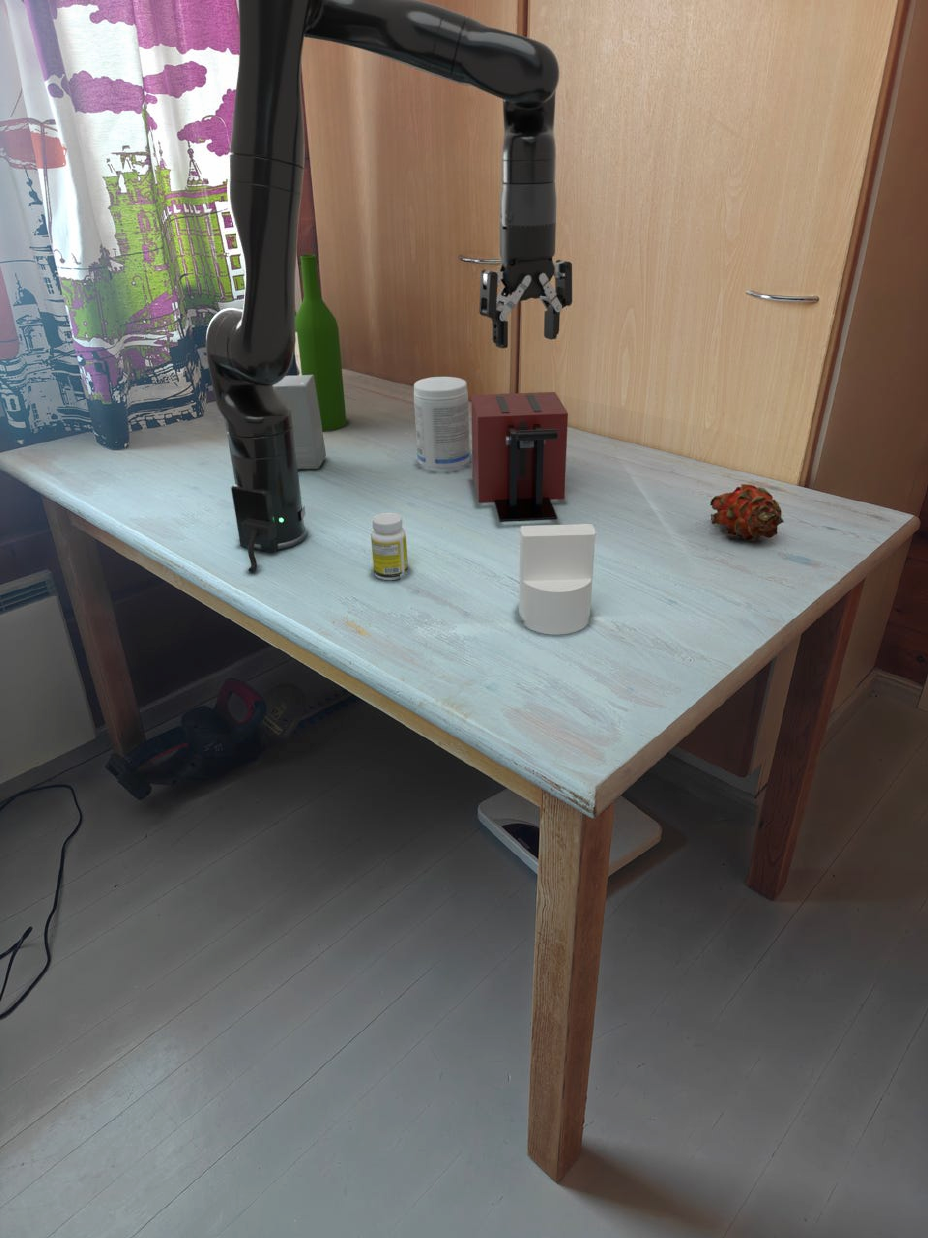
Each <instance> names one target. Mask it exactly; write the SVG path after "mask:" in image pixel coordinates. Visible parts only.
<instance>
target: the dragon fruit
mask: <svg viewBox="0 0 928 1238" xmlns="http://www.w3.org/2000/svg"><path fill="white" fill-rule="evenodd" d="M708 504H710V505H709V506H711V509H712V510H714V511H717V512H715V513H711V514H710V521H711V524H712V525H718V526H725V527H727V531H726V534H727V537H728V538H730V539H737V538H739V537H740V536H742V538H743V540H745V541H749V542H758V540H759V539H760V538H761V537H764V538H768V539H771V538H773V537H775V536H777V535H778V527H779V525H781V524H782V523H785V521H784V519H783V517H782V513H783V512H782V508H781V506H780V504H779V503H778V501H777V500H776V499H774V498H773V495H772V494H771V493H770V492H769V491H768V490H767V489H766V488H765V487H761V486H760V487H757V486H755V485H753V484H748V483H747V484H746V483H742V484H740V486H736V488H735V489H734V491H732V492H725V493H722V494H719V495H715V496H714V497H713V498H712V499H711V500H710V503H707V505H708Z"/></svg>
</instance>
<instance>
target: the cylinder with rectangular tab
mask: <svg viewBox="0 0 928 1238" xmlns="http://www.w3.org/2000/svg"><path fill="white" fill-rule="evenodd" d="M519 533H520V535H519V536H520V537H519V539H520V540H519V588H518V589H519V590H518V591H519V593H518V613H519V615H520V617H521V618H522V619H520V620H519V621H520V623H521V624H522V626H524V627H525V628H527V629H529V630H531V631H533V632H536V633H538V634H545V635H550V636H551V635H552V636H553V635H554V636H560V635H570V634H573V633H576V632H579V631H581V630H583V629H584V628H585V627H586V626H587V625H588V624H589V622H590V620H591V616H590V615H591V608H592V605H591V604H592V591H593V575H594V561H595V559H594V558H595V548H596V547H595V543H596V528H595V527H594V525H593V524H592V523H580V524H575V523H574V524H546V525H543V524H542V525H520V531H519Z"/></svg>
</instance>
